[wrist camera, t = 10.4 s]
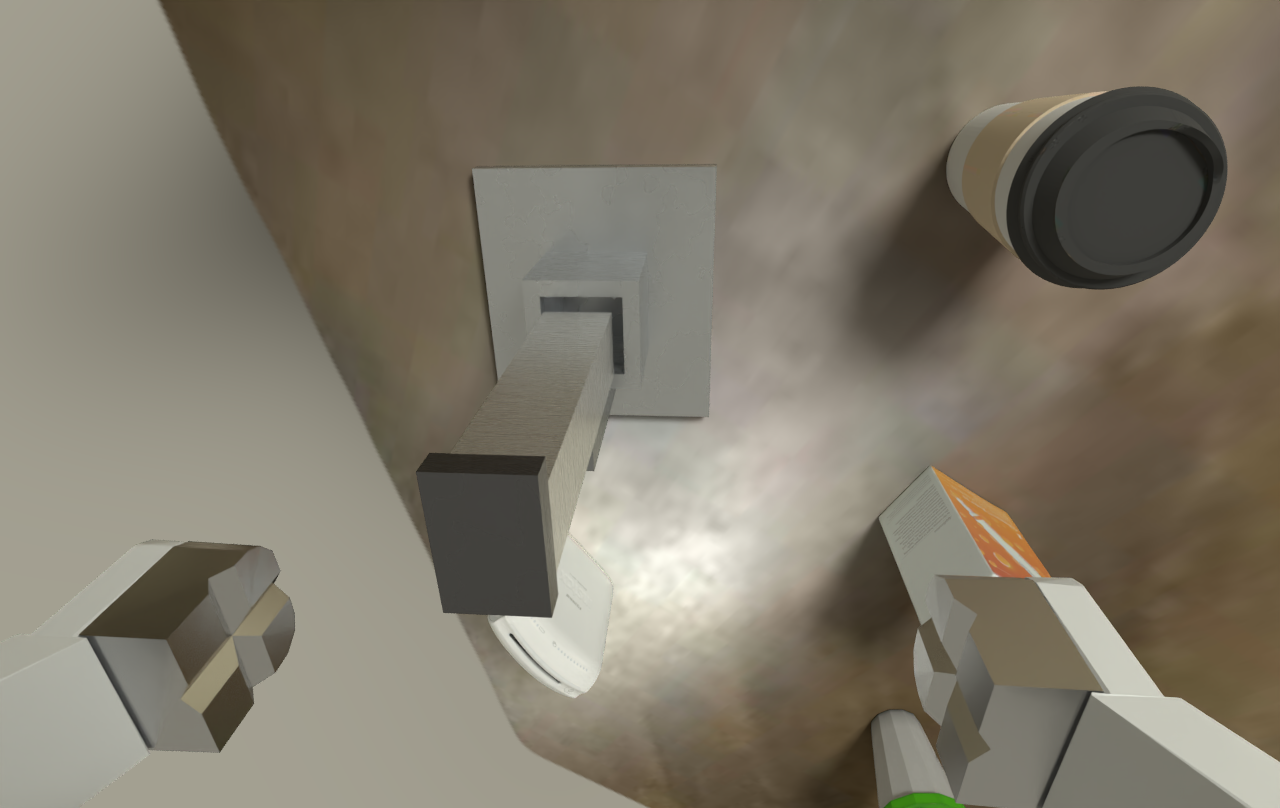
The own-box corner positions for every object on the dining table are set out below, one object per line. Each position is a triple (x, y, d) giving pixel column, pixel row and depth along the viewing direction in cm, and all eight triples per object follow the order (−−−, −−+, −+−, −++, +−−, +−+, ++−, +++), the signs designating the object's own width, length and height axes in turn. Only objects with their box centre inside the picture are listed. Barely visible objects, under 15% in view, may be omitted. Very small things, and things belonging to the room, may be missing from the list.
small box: (1007, 511, 54) (1092, 632, 42) (951, 562, 56) (1015, 689, 45) (929, 461, 52) (994, 573, 41) (875, 516, 55) (921, 635, 43)
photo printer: (622, 584, 60) (604, 699, 49) (586, 604, 62) (560, 720, 51) (548, 506, 57) (512, 610, 46) (512, 529, 59) (467, 635, 48)
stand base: (477, 166, 45) (378, 208, 31) (716, 164, 44) (722, 206, 30) (505, 405, 53) (436, 522, 39) (708, 409, 52) (710, 532, 38)
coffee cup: (983, 261, 45) (1102, 341, 32) (897, 165, 43) (986, 206, 30) (1109, 158, 42) (1301, 199, 28) (1023, 47, 40) (1188, 34, 26)
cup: (918, 758, 67) (972, 930, 54) (842, 743, 67) (877, 911, 54) (949, 706, 64) (1015, 876, 50) (869, 690, 63) (913, 855, 50)
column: (542, 295, 39) (415, 472, 22) (610, 295, 38) (537, 475, 21) (550, 389, 41) (443, 612, 24) (614, 390, 41) (552, 617, 24)
